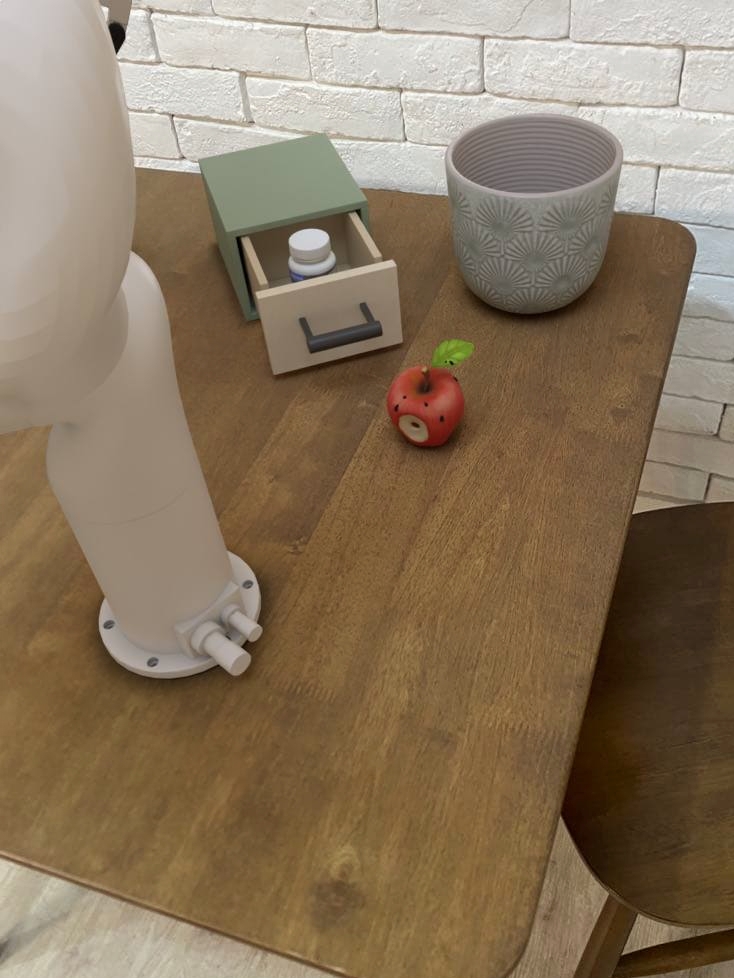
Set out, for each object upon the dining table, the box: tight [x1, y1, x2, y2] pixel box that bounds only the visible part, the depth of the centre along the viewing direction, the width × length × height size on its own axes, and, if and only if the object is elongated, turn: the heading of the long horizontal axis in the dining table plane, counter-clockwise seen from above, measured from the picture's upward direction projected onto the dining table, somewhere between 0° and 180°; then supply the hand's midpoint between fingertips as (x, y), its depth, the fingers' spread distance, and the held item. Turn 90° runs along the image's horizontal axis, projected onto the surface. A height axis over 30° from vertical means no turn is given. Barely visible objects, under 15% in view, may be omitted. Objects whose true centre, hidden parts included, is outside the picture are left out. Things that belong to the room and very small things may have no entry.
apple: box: [386, 338, 475, 447], centre depth 83 cm, size 8×7×10 cm
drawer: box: [237, 210, 404, 376], centre depth 93 cm, size 20×13×9 cm, turn 18°
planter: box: [444, 112, 624, 315], centre depth 95 cm, size 17×17×15 cm
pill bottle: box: [288, 229, 338, 283], centre depth 94 cm, size 5×5×8 cm
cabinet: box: [197, 132, 372, 323], centre depth 103 cm, size 17×15×11 cm
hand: (43, 138), depth 68 cm, fingers open, 9 cm apart
